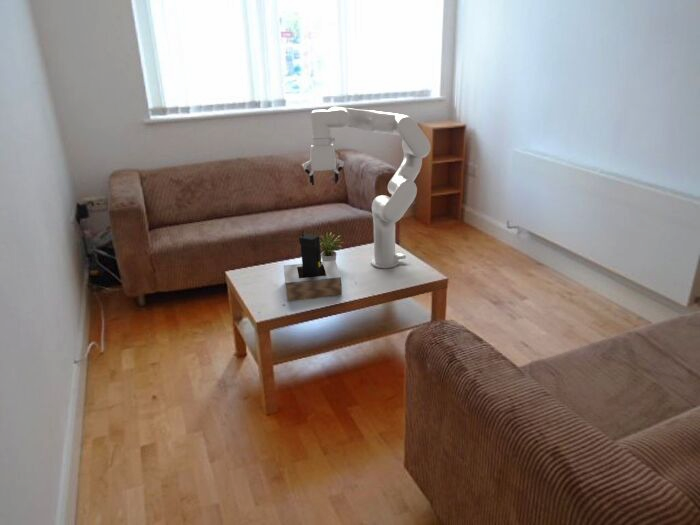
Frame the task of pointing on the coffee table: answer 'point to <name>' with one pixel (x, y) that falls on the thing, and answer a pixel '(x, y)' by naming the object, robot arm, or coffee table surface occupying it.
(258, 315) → the coffee table surface
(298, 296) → the box
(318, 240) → the portable radio
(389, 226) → the robot arm
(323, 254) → the house plant
